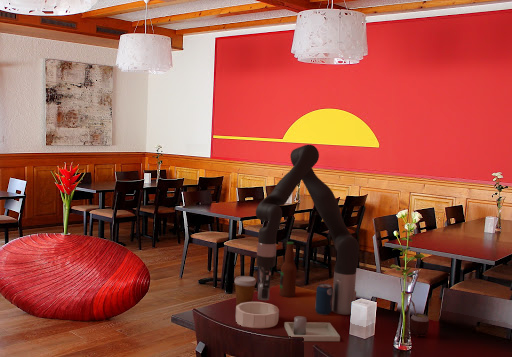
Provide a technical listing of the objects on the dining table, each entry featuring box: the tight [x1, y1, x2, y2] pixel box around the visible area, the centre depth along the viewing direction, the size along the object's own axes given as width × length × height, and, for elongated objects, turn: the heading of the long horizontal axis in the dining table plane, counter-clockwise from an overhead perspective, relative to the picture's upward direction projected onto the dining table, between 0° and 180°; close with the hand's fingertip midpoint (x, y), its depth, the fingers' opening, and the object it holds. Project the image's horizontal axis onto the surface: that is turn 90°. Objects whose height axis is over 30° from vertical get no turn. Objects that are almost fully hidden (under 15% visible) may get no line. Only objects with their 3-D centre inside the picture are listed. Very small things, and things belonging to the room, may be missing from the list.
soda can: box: [314, 282, 333, 316], centre depth 243 cm, size 7×7×12 cm
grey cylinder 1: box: [257, 282, 271, 302], centre depth 227 cm, size 5×5×6 cm
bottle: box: [279, 241, 297, 298], centre depth 265 cm, size 7×7×25 cm
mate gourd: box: [409, 299, 430, 336], centre depth 221 cm, size 8×8×15 cm
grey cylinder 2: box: [293, 315, 308, 335], centre depth 215 cm, size 5×5×6 cm
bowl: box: [235, 301, 280, 329], centre depth 227 cm, size 17×17×6 cm
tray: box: [283, 321, 341, 342], centre depth 216 cm, size 18×15×2 cm
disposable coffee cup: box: [234, 275, 257, 306], centre depth 246 cm, size 10×10×12 cm
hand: (263, 296), depth 227 cm, fingers closed on grey cylinder 1, 4 cm apart
